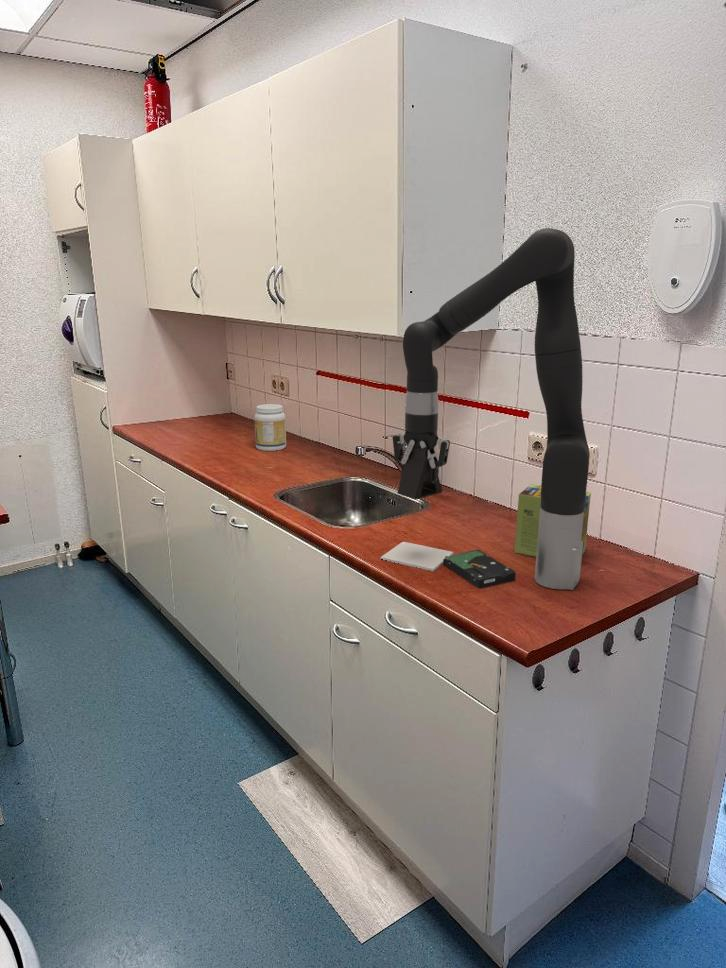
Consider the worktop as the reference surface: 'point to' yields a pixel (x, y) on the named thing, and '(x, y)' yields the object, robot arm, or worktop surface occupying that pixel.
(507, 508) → the worktop surface
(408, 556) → the grey mat
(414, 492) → the phone stand
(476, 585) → the disk drive
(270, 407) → the supplement tub
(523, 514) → the protein box
